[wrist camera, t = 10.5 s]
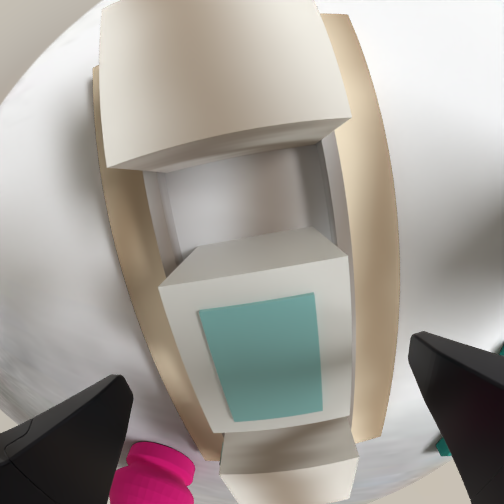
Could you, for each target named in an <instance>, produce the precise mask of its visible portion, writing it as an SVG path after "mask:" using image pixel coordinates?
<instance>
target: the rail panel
mask: <svg viewBox="0 0 504 504" xmlns="http://www.w3.org/2000/svg"><path fill="white" fill-rule="evenodd" d="M93 105H94V121H95V133H96V143H97V151H98V159H99V166H100V173H101V180H102V186H103V191H104V197H105V202H106V207H107V212H108V217H109V222H110V226H111V230H112V235H113V239H114V243H115V247H116V251H117V255H118V258H119V262H120V266H121V269H122V273H123V276H124V279H125V283H126V286H127V289H128V292H129V295H130V299H131V302H132V305H133V307H134V310H135V313H136V316H137V319H138V322H139V324H140V327H141V330H142V333H143V335H144V338H145V340H146V343H147V345H148V348H149V350H150V353H151V355H152V358H153V360H154V362H155V365H156V367H157V369H158V372H159V374H160V376H161V378H162V381H163V383H164V385H165V387H166V389H167V391H168V393H169V395H170V397H171V400H172V402H173V404H174V406H175V408H176V410H177V411H178V413H179V415H180V417H181V419H182V421H183V423H184V425H185V427H186V428H187V430H188V432H189V434H190V436H191V437H192V439H193V441H194V443H195V444H196V446H197V448H198V449H199V451H200V453H201V454H202V456H203V458H204V459H205V461H220V464H219V465H220V471H219V475H220V477H221V478H222V480H223V481H224V483H225V484H226V486H227V487H228V489H229V490H230V492H231V493H232V495H233V496H234V498H235V499H236V500H237V502H238V503H239V504H327V503H332V502H337V501H342V500H346V499H349V497H350V493H351V490H352V486H353V482H354V478H355V473H356V469H357V464H358V460H359V455H358V452H357V448H356V445H355V443H359V442H363V441H366V440H370V439H373V438H376V437H380V436H381V433H382V429H383V425H384V420H385V416H386V411H387V406H388V401H389V395H390V389H391V383H392V377H393V370H394V362H395V354H396V344H397V333H398V319H399V297H400V256H399V233H398V219H397V208H396V198H395V189H394V182H393V174H392V168H391V161H390V156H389V150H388V145H387V139H386V134H385V130H384V125H383V121H382V116H381V112H380V108H379V104H378V100H377V96H376V93H375V89H374V86H373V82H372V79H371V76H370V72H369V69H368V66H367V63H366V60H365V57H364V54H363V52H362V49H361V46H360V43H359V41H358V38H357V35H356V33H355V30H354V28H353V26H352V23H351V21H350V18H349V16H348V15H346V14H320V13H319V10H318V8H317V6H316V3H315V1H314V0H120V1H118V2H115V3H113V4H111V5H109V6H107V7H105V8H103V9H102V15H101V27H100V45H99V65H98V66H96V67H94V68H93ZM311 226H313V227H314V228H315V229H316V230H318V231H319V232H320V233H321V234H322V235H324V236H325V237H326V238H327V239H328V240H330V241H331V242H332V243H333V244H335V245H336V246H337V247H338V248H339V249H340V250H342V251H343V252H344V253H345V254H346V255H348V262H349V275H350V291H351V314H352V380H351V402H350V415H349V416H345V417H341V418H336V419H332V420H327V421H322V422H317V423H311V424H306V425H300V426H293V427H286V428H278V429H270V430H260V431H247V432H229V433H213V431H212V429H211V427H210V425H209V423H208V421H207V418H206V416H205V414H204V412H203V410H202V407H201V405H200V403H199V400H198V398H197V396H196V393H195V391H194V389H193V386H192V384H191V381H190V379H189V376H188V374H187V371H186V369H185V366H184V363H183V361H182V358H181V355H180V353H179V350H178V347H177V344H176V342H175V339H174V336H173V333H172V330H171V327H170V324H169V321H168V318H167V315H166V312H165V309H164V306H163V302H162V299H161V296H160V292H159V289H158V286H159V285H160V284H161V283H162V282H163V281H164V280H165V279H166V278H167V277H168V276H169V275H170V274H171V273H172V272H173V271H174V270H175V269H176V268H177V267H178V266H179V265H180V264H181V263H182V262H183V261H184V260H185V259H186V258H187V257H188V256H189V255H190V254H191V253H192V252H193V251H194V250H195V249H196V248H197V247H198V246H201V245H207V244H213V243H218V242H224V241H229V240H235V239H241V238H246V237H252V236H258V235H264V234H269V233H275V232H281V231H287V230H293V229H299V228H305V227H311Z"/></svg>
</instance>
